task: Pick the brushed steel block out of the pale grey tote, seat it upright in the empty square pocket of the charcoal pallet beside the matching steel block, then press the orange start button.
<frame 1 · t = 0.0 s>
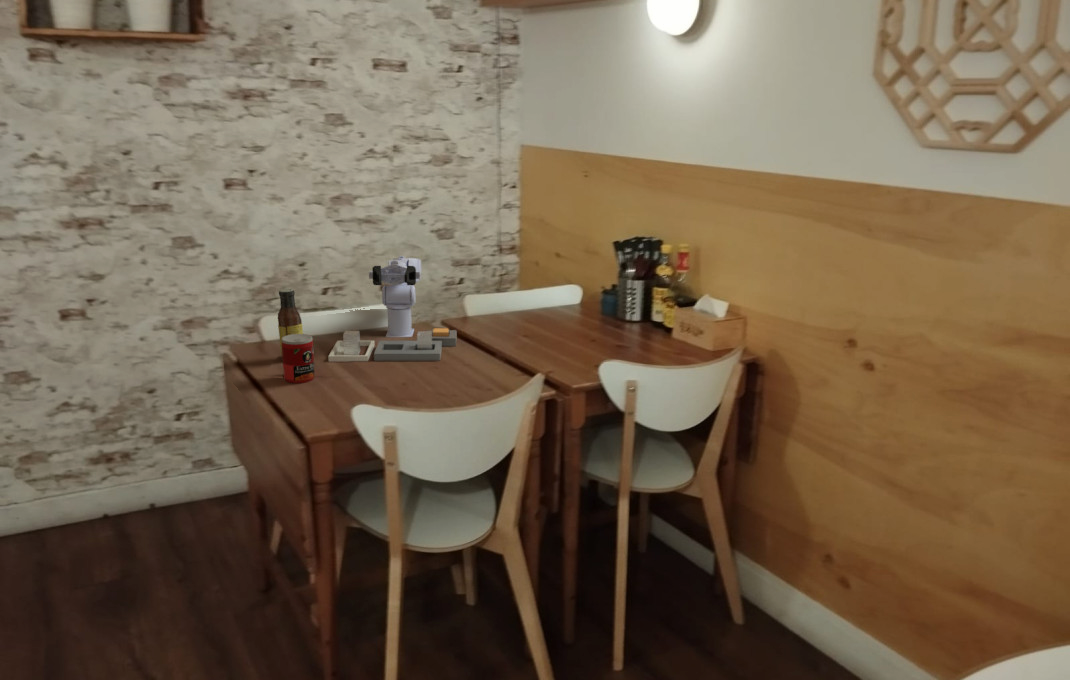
hand: (391, 278, 232), 22 cm above the table, tool horizontal, fingers open, 7 cm apart
canned food: (299, 379, 215), on the table
start button: (440, 335, 247), point 3 cm above the table, slide at 0.0 cm
tote: (352, 354, 236), on the table
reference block: (425, 353, 236), point 1 cm above the table, touching pallet
pallet: (409, 355, 236), on the table
sauce bottle: (292, 361, 230), on the table
button housing: (441, 343, 248), on the table
steel block: (352, 353, 236), resting on tote
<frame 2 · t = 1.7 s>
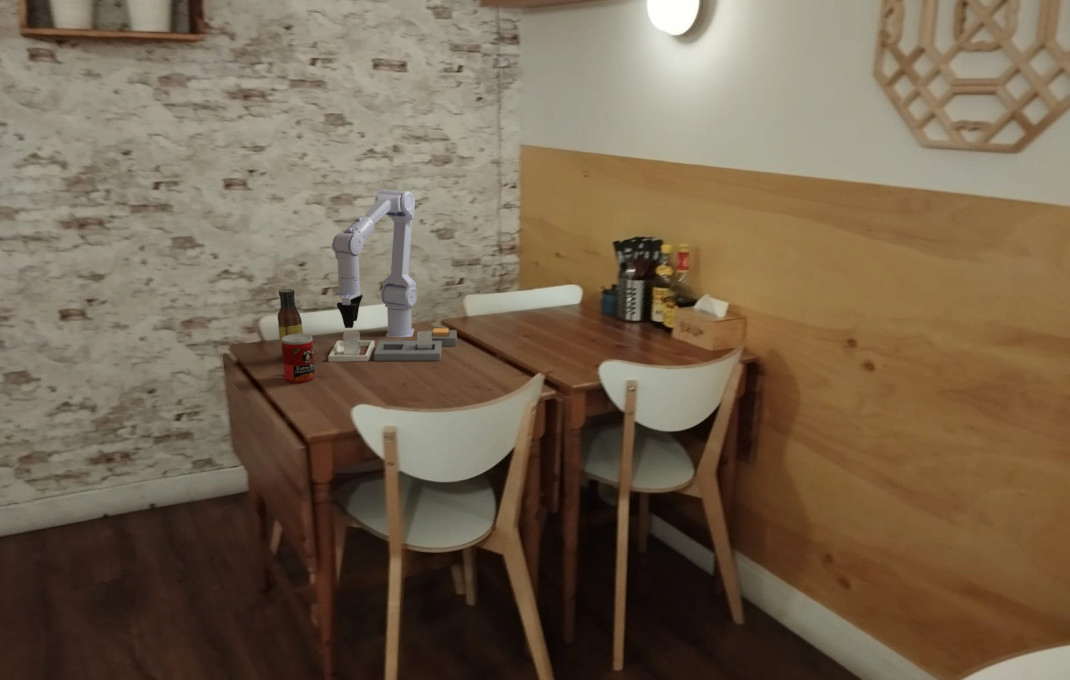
hand: (351, 324, 233), 9 cm above the table, tool pointing down, fingers open, 7 cm apart
nothing on the table moved.
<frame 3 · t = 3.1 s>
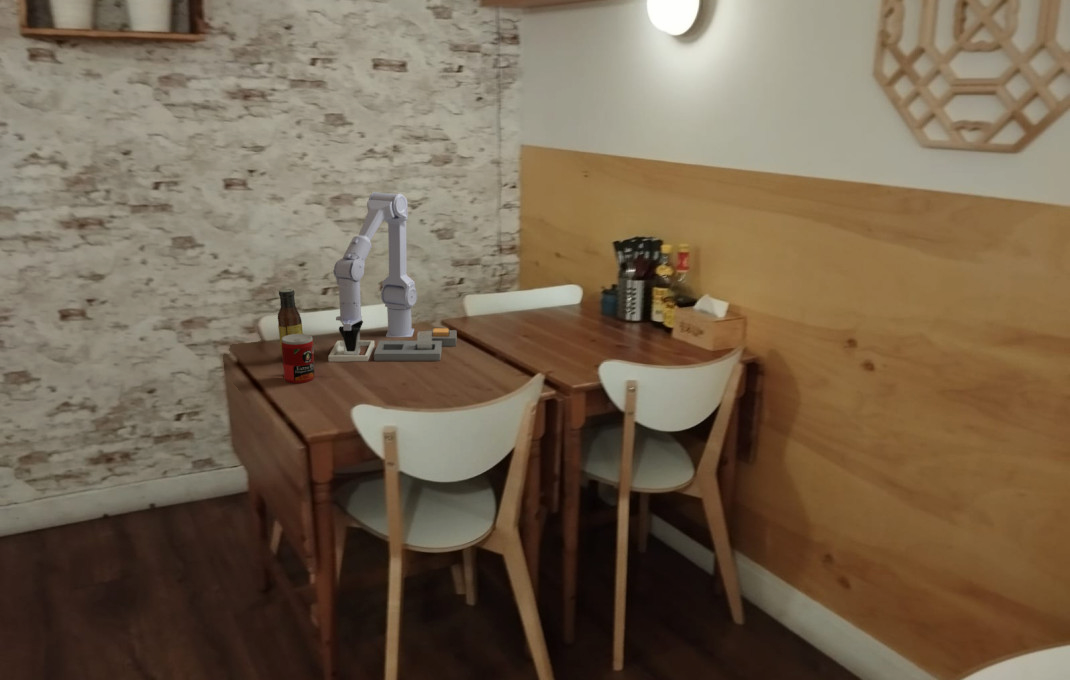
hand: (352, 348, 235), 2 cm above the table, tool pointing down, fingers closed on steel block, 4 cm apart
steel block: (352, 353, 236), resting on tote, touching gripper
everything else where it was.
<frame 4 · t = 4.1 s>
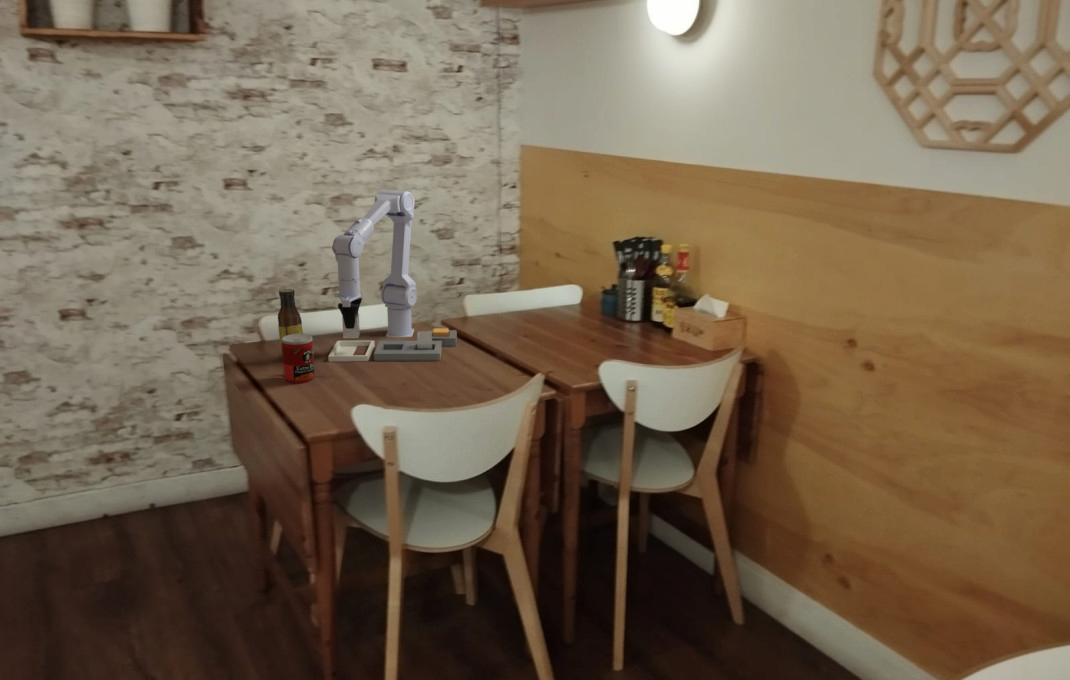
hand: (351, 326, 233), 8 cm above the table, tool pointing down, fingers closed on steel block, 4 cm apart
steel block: (351, 336, 234), point 5 cm above the table, touching gripper
everything else where it was.
when the fingers open (8 cm above the table, at t = 5.6 s): steel block stays where it is, resting on pallet.
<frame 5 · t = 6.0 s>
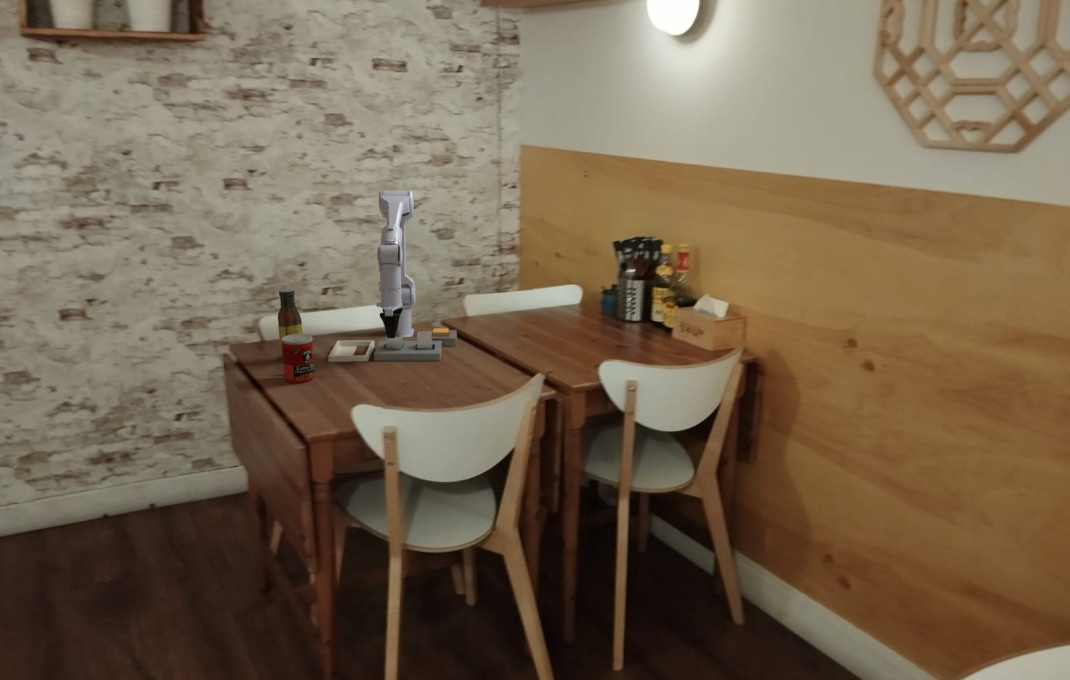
hand: (392, 335, 233), 6 cm above the table, tool pointing down, fingers open, 4 cm apart
steel block: (395, 353, 235), point 1 cm above the table, tilted 9°, touching gripper, pallet
everything else where it was.
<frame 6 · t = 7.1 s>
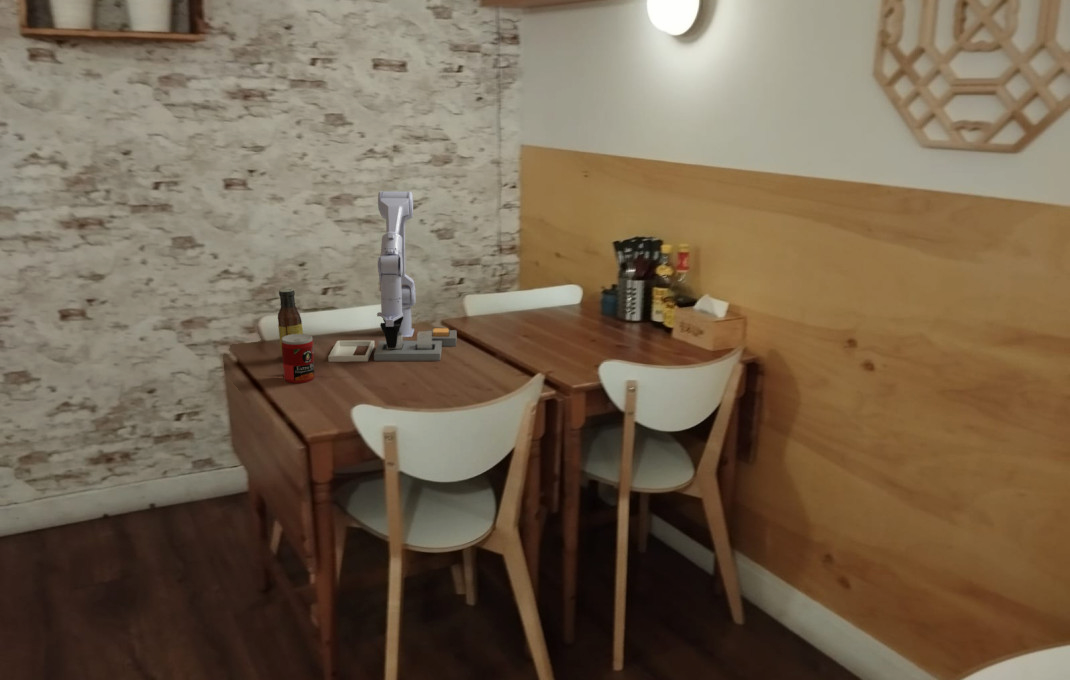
hand: (392, 344, 235), 3 cm above the table, tool pointing down, fingers open, 5 cm apart
steel block: (395, 353, 235), point 1 cm above the table, touching pallet
everything else where it was.
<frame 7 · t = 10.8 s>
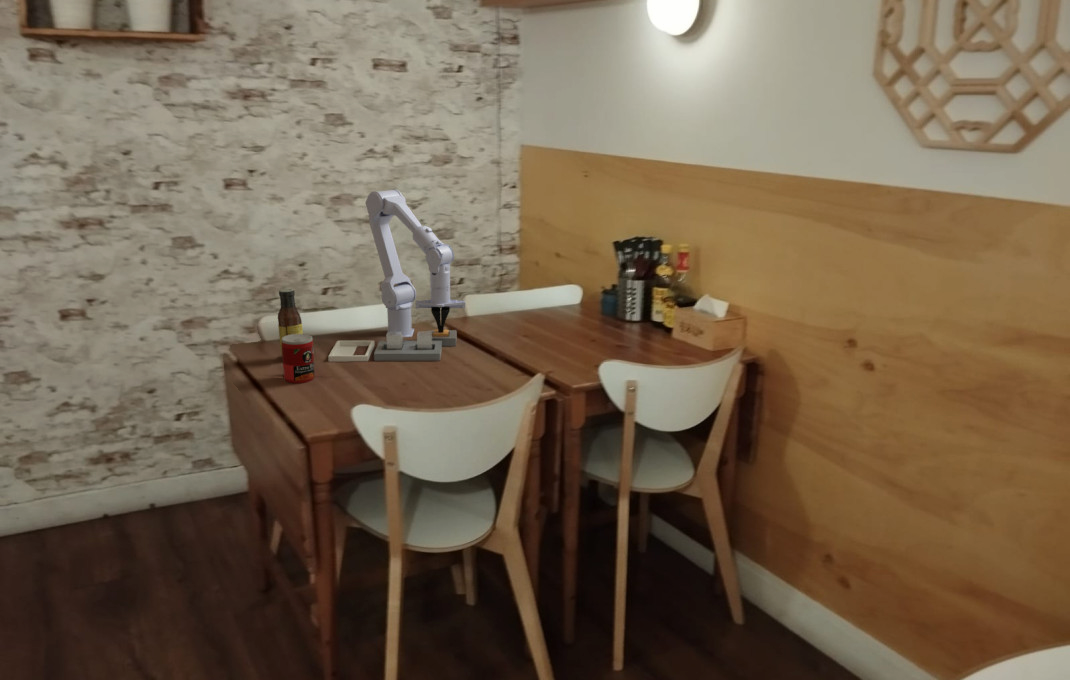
hand: (441, 331, 247), 4 cm above the table, tool pointing down, fingers closed, pressing on start button
start button: (440, 336, 247), point 2 cm above the table, slide at 0.4 cm, touching gripper
everything else where it was.
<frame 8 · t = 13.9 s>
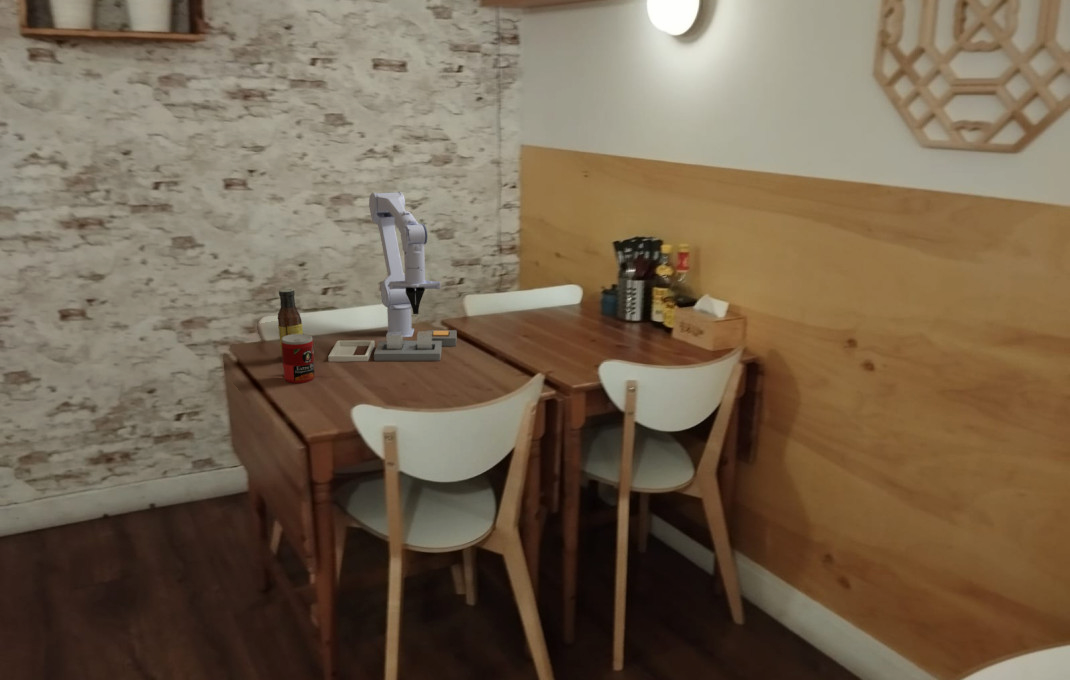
hand: (415, 313, 241), 10 cm above the table, tool pointing down, fingers closed
start button: (440, 337, 247), point 2 cm above the table, slide at 0.7 cm
everything else where it was.
at the end: steel block 0.6 cm from the target spot on the pallet, point 0.6 cm above the pallet's base; steel block tilted 0°; start button slide at 0.7 cm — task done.
